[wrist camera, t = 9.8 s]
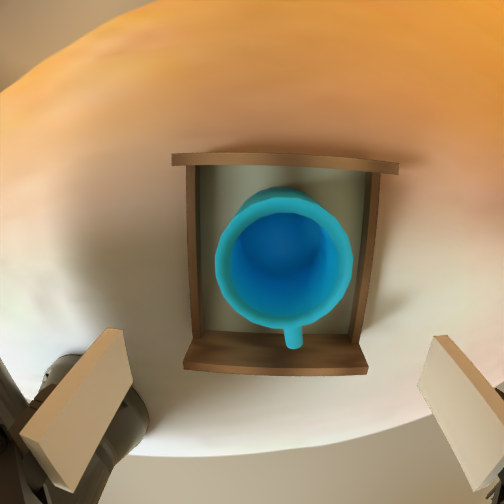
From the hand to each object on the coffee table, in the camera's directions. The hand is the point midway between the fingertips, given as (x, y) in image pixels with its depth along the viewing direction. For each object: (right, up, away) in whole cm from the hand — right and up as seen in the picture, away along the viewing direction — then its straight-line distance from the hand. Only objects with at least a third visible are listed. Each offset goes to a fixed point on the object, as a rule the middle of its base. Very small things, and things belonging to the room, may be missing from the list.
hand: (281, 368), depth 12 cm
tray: (+1, +4, +15) cm, 16 cm away
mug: (+2, +4, +15) cm, 16 cm away
